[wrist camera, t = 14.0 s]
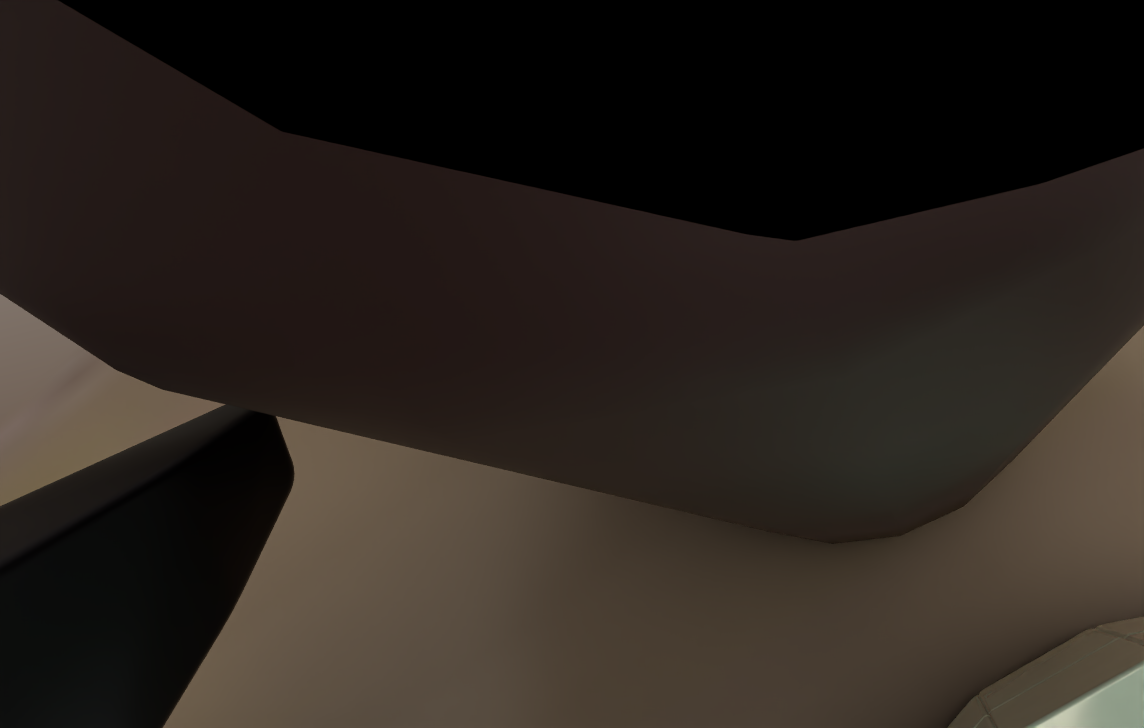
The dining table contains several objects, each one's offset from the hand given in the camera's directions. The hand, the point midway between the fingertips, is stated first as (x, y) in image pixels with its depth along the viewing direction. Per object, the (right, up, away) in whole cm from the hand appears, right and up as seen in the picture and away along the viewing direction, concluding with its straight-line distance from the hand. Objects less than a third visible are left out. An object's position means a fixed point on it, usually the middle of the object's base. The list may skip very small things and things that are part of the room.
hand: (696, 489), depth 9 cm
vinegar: (+3, +1, +8) cm, 9 cm away
